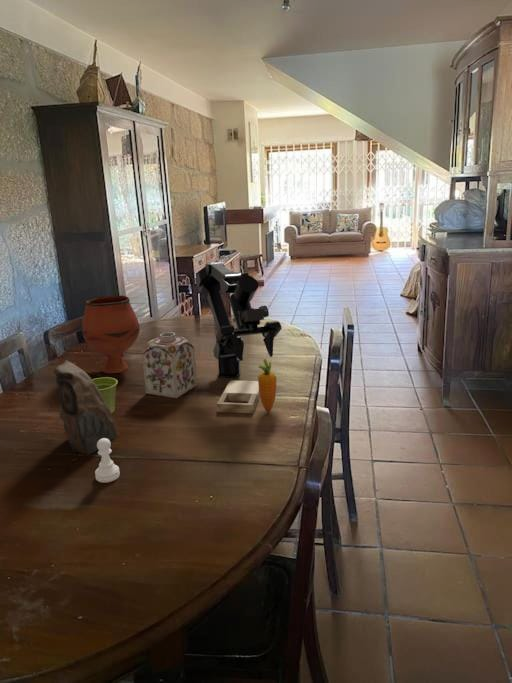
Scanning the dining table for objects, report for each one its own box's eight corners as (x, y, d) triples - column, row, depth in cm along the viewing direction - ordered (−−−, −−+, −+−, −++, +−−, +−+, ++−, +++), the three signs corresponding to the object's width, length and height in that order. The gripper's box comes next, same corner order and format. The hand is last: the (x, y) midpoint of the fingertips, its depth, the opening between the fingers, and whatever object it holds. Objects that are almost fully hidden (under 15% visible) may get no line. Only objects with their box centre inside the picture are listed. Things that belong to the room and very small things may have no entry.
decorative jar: (198, 385, 159) (194, 330, 154) (177, 399, 149) (173, 341, 144) (166, 381, 164) (161, 327, 159) (144, 393, 154) (139, 337, 149)
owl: (87, 458, 117) (76, 377, 111) (45, 449, 121) (32, 371, 116) (121, 434, 128) (112, 359, 122) (81, 427, 133) (70, 355, 127)
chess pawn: (101, 470, 112) (96, 433, 109) (123, 470, 111) (118, 433, 108) (91, 482, 107) (86, 444, 104) (114, 483, 106) (110, 444, 104)
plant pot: (127, 407, 144) (124, 378, 142) (107, 421, 136) (104, 391, 133) (99, 403, 147) (96, 376, 145) (79, 417, 139) (74, 387, 136)
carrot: (275, 416, 135) (274, 363, 131) (257, 415, 136) (255, 363, 132) (278, 409, 140) (277, 357, 136) (260, 408, 141) (259, 357, 137)
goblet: (132, 357, 189) (125, 291, 182) (151, 370, 174) (145, 299, 167) (80, 367, 179) (71, 298, 172) (96, 383, 164) (86, 308, 157)
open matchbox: (217, 411, 139) (216, 403, 139) (230, 387, 156) (230, 380, 156) (253, 413, 138) (252, 404, 137) (262, 388, 155) (262, 381, 154)
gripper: (219, 298, 138) (234, 349, 132) (280, 293, 145) (296, 341, 139) (209, 318, 147) (223, 367, 141) (267, 313, 155) (282, 359, 149)
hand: (257, 358), depth 142 cm, fingers open, 9 cm apart
